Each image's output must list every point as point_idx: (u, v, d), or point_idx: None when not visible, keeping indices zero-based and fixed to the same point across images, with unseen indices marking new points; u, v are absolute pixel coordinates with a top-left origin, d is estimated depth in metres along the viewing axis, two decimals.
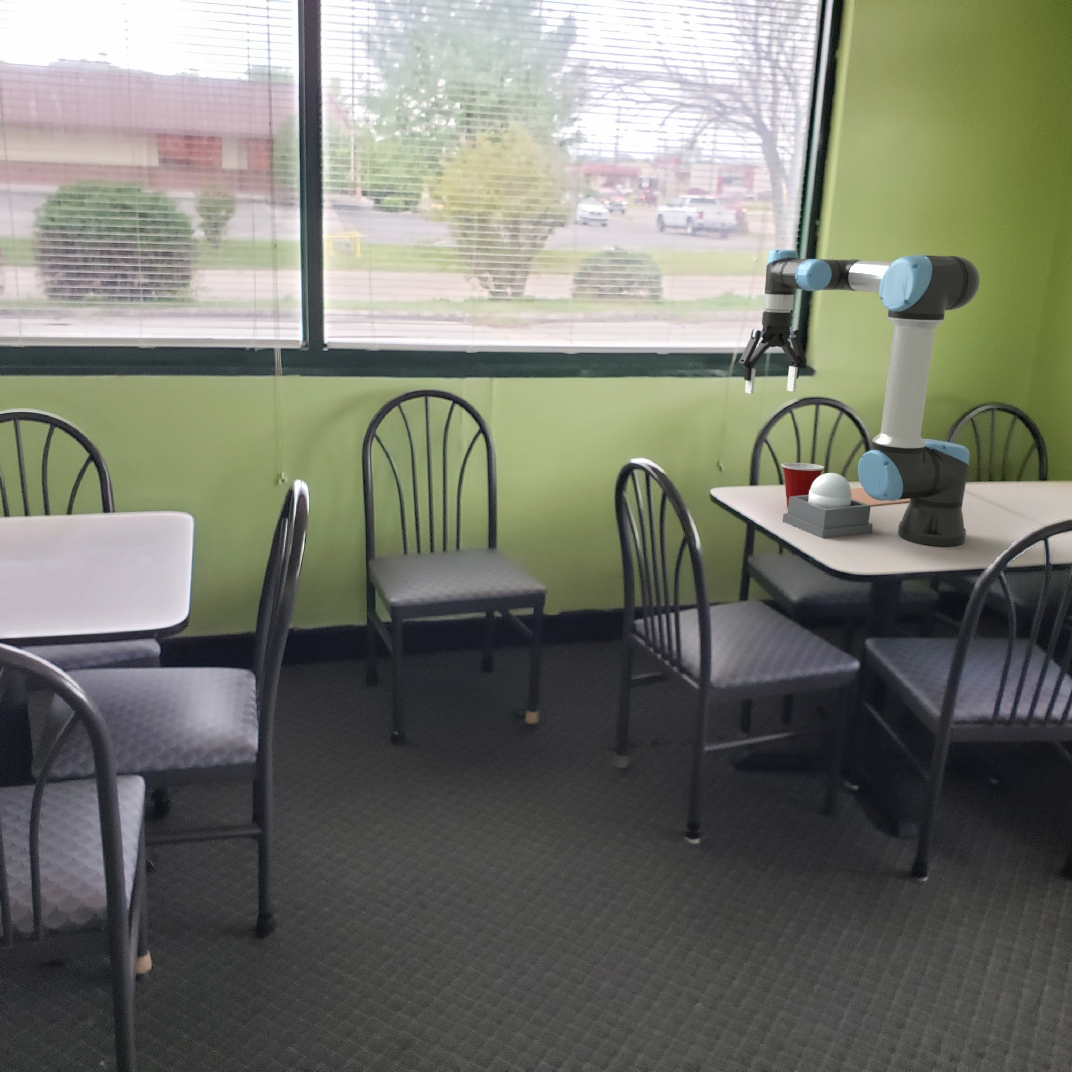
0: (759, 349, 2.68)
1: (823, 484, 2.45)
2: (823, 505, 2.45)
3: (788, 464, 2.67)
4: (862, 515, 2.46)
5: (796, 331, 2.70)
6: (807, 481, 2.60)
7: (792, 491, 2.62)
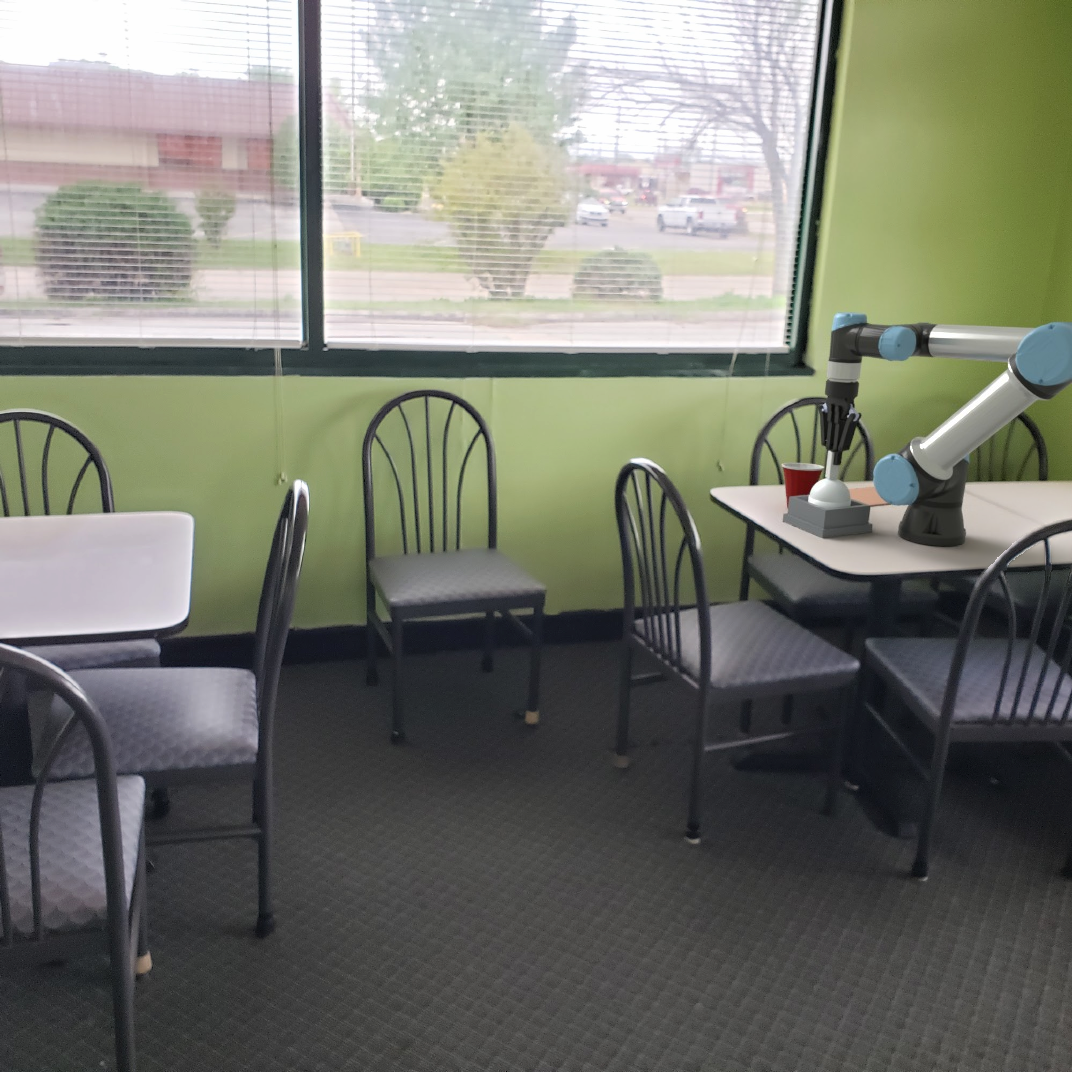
0: None
1: (822, 489, 2.45)
2: None
3: (788, 464, 2.67)
4: (862, 515, 2.46)
5: (851, 414, 2.37)
6: (807, 481, 2.60)
7: (792, 491, 2.62)
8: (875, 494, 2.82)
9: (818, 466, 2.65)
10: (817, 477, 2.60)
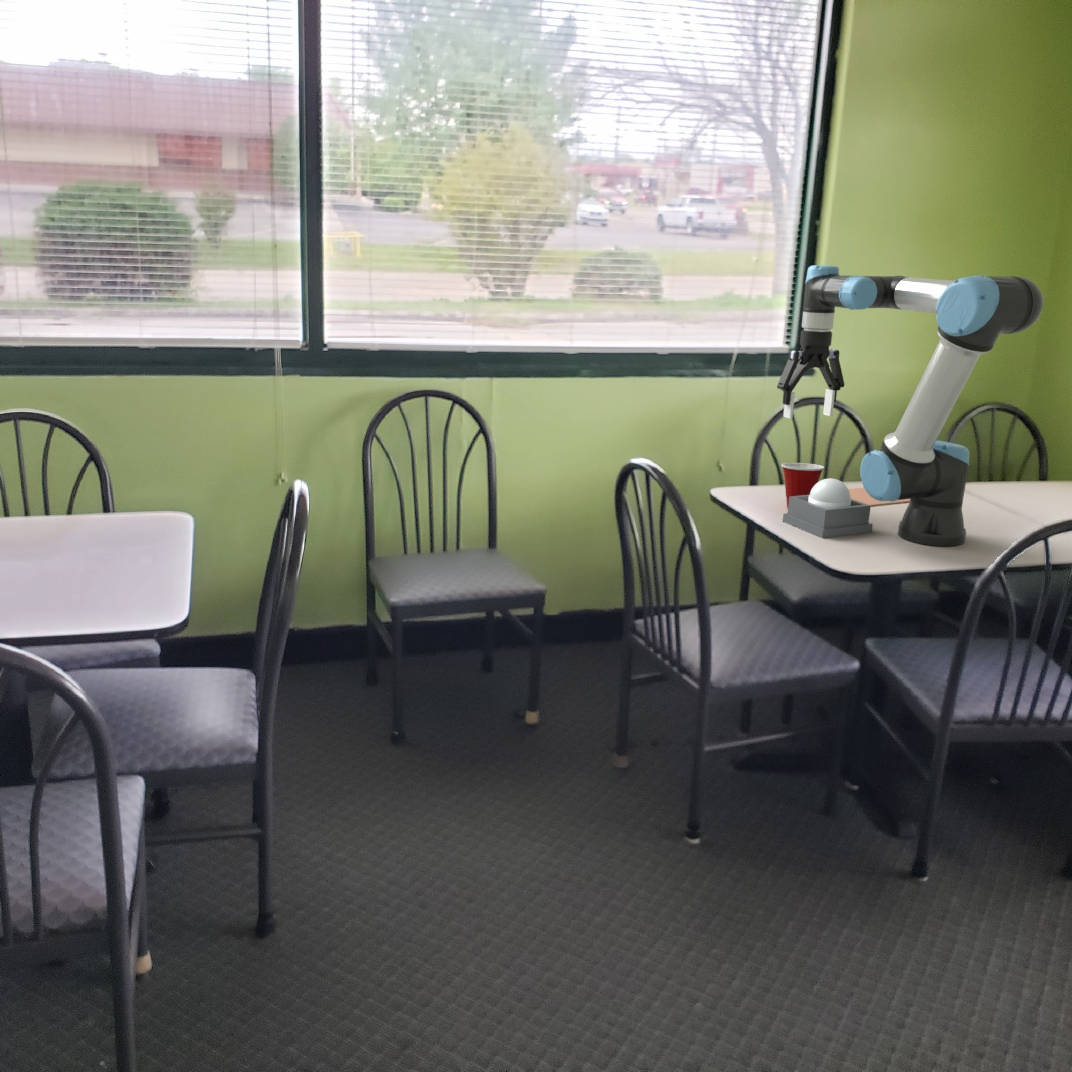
0: (798, 371, 2.54)
1: (822, 490, 2.45)
2: None
3: (788, 464, 2.67)
4: (862, 515, 2.46)
5: (836, 352, 2.56)
6: (807, 481, 2.60)
7: (792, 491, 2.62)
8: None
9: (818, 466, 2.65)
10: (817, 477, 2.60)
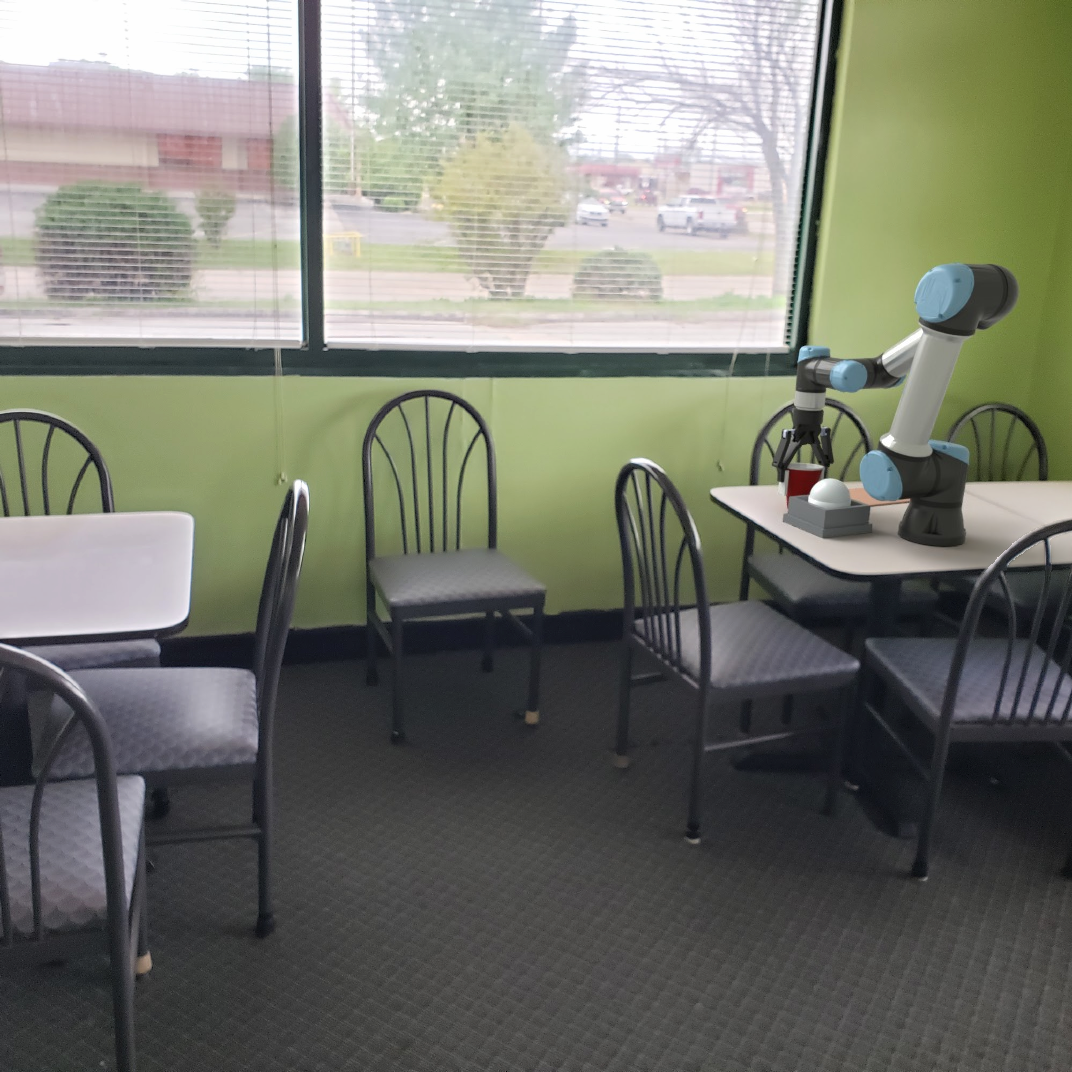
0: (791, 449, 2.60)
1: (822, 490, 2.45)
2: None
3: None
4: (862, 515, 2.46)
5: (827, 429, 2.62)
6: (807, 481, 2.60)
7: (792, 491, 2.62)
8: None
9: (818, 466, 2.65)
10: (817, 477, 2.60)
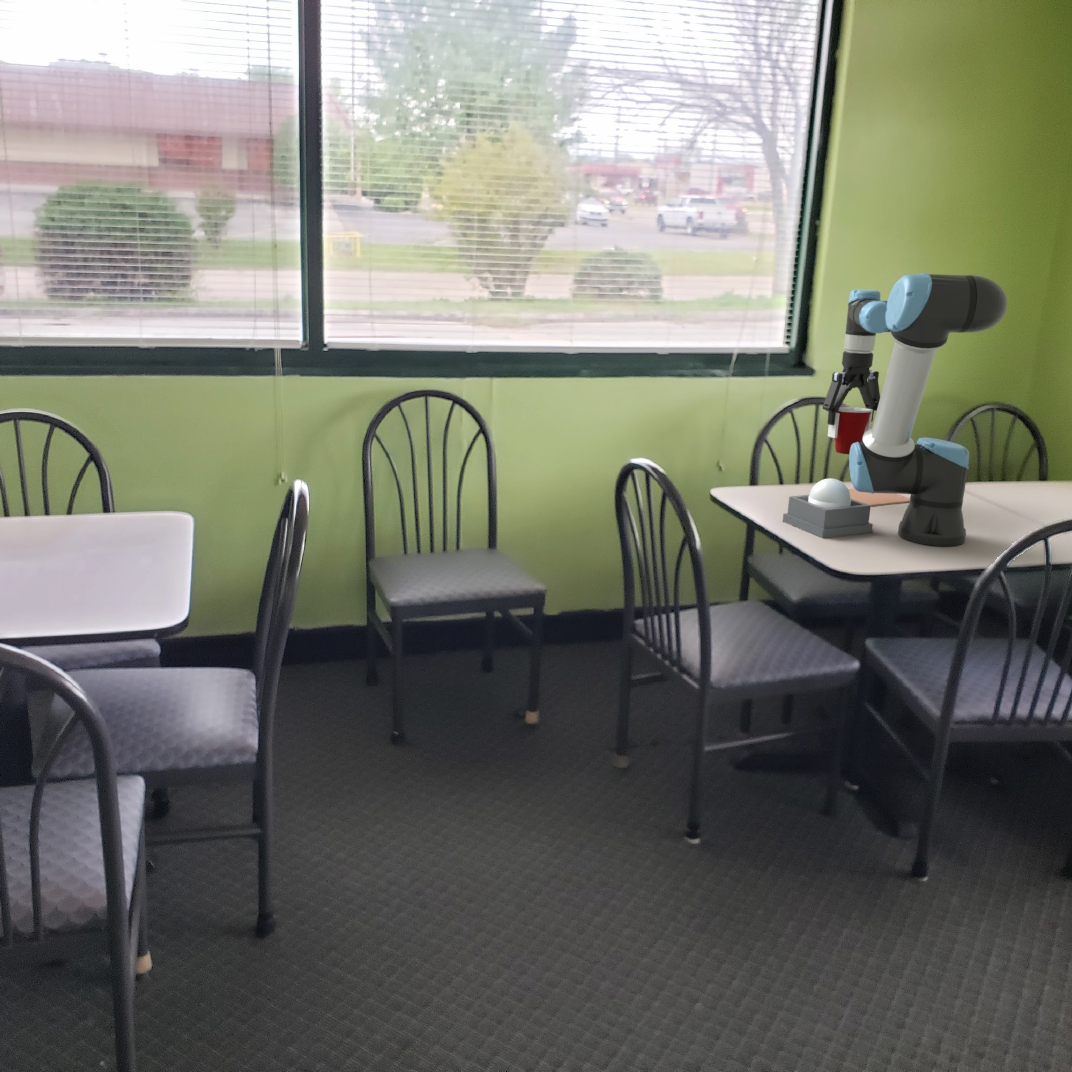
0: (841, 392, 2.64)
1: (822, 490, 2.45)
2: None
3: None
4: (862, 515, 2.46)
5: (876, 373, 2.67)
6: (857, 423, 2.64)
7: (841, 434, 2.67)
8: (875, 494, 2.82)
9: (865, 409, 2.70)
10: (866, 419, 2.65)
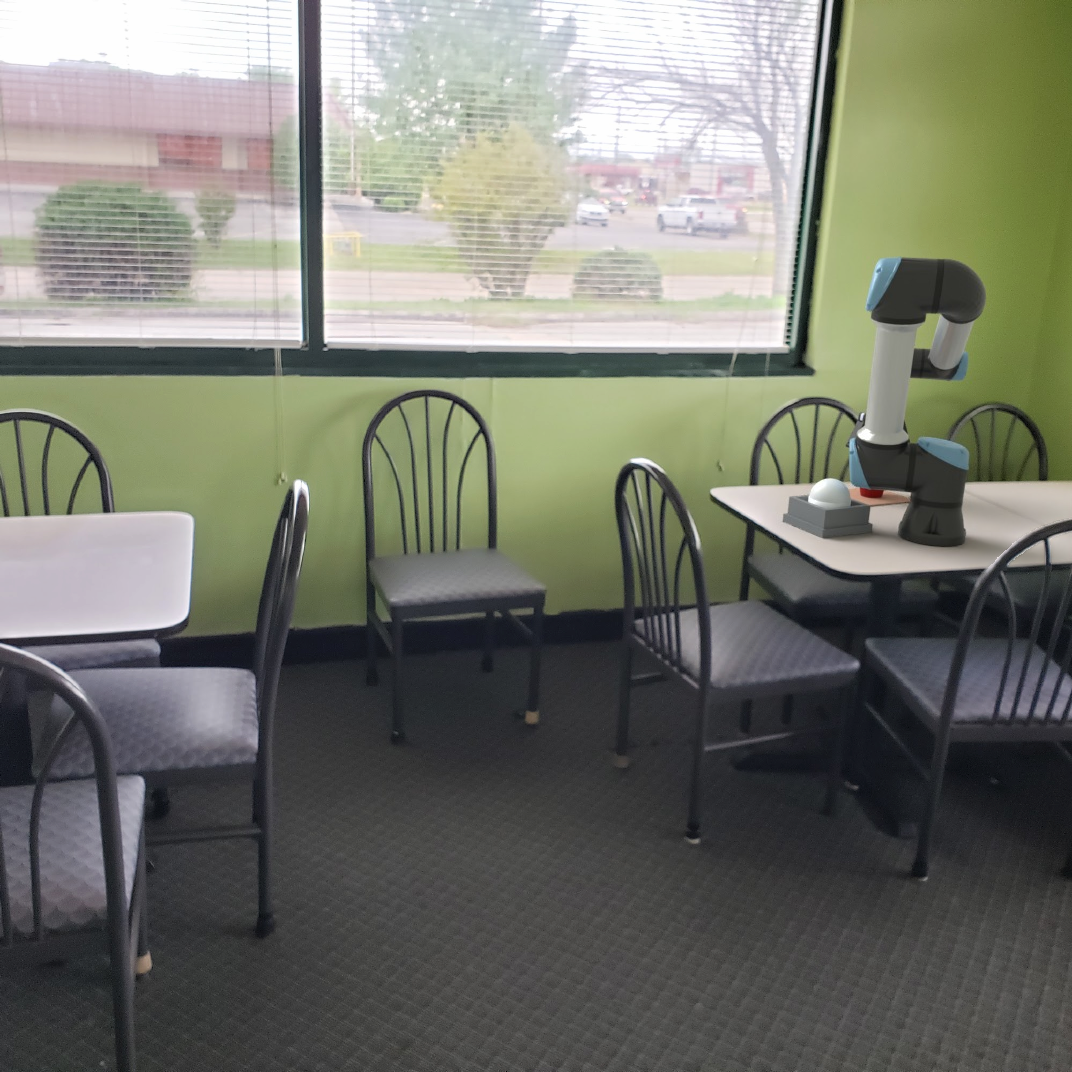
0: None
1: (822, 490, 2.45)
2: None
3: None
4: (862, 515, 2.46)
5: None
6: None
7: None
8: None
9: None
10: None
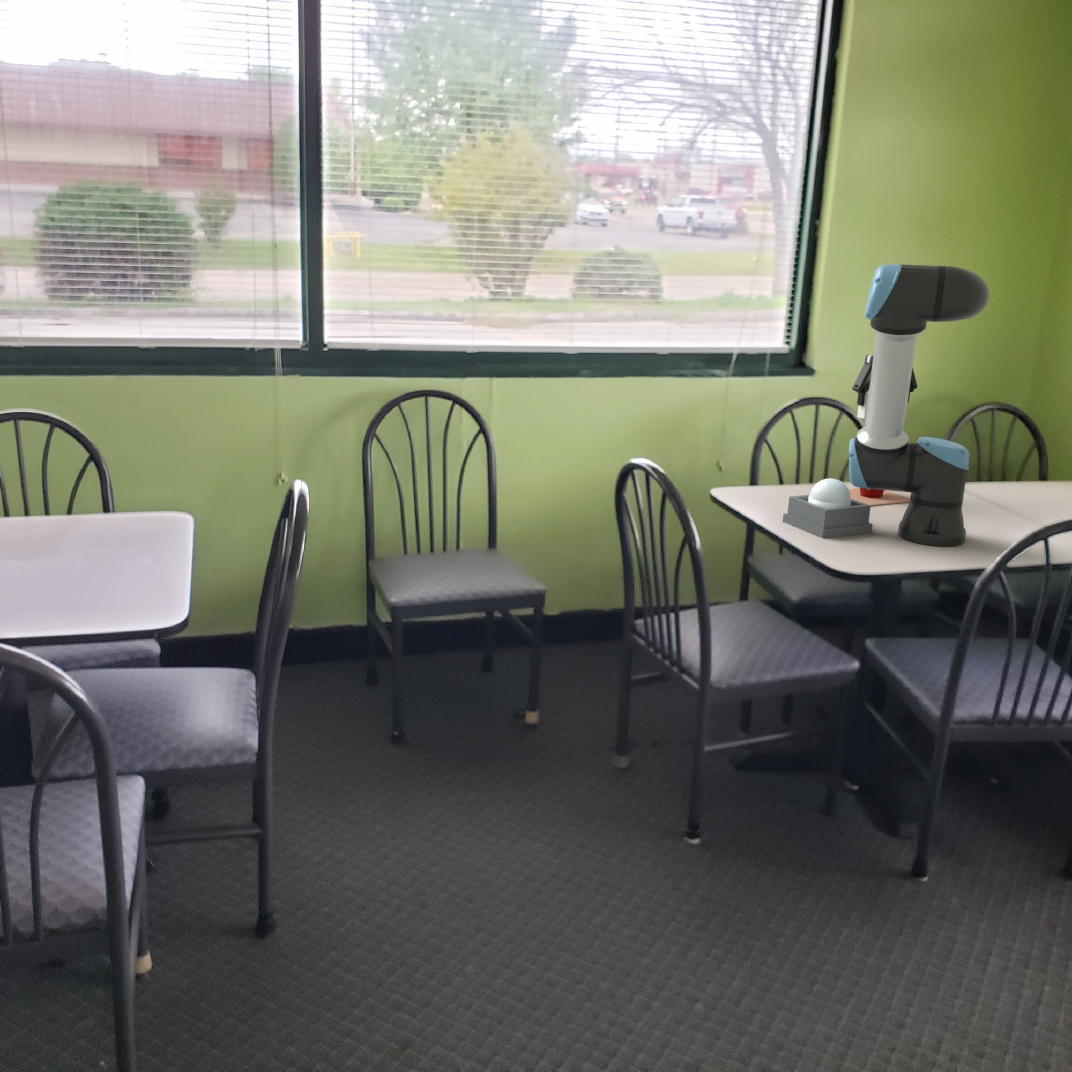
0: None
1: (822, 490, 2.45)
2: None
3: None
4: (862, 515, 2.46)
5: None
6: None
7: None
8: None
9: None
10: None
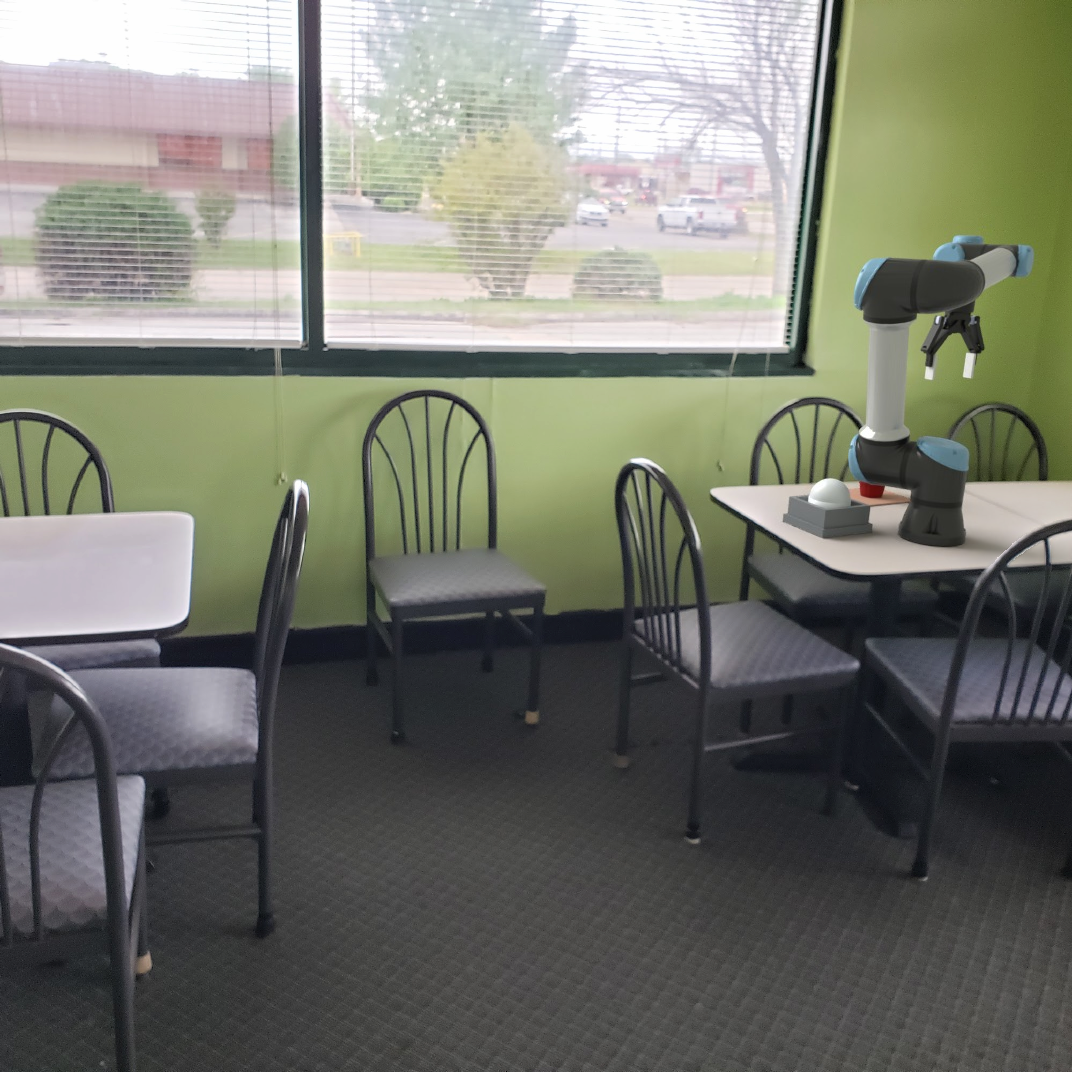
0: (941, 335, 2.67)
1: (822, 490, 2.45)
2: None
3: None
4: (862, 515, 2.46)
5: (977, 317, 2.70)
6: None
7: None
8: None
9: None
10: None
